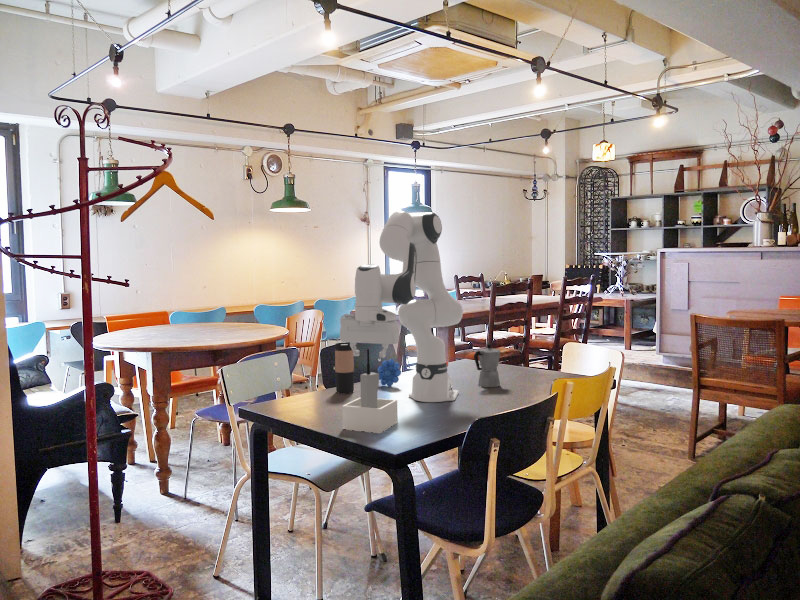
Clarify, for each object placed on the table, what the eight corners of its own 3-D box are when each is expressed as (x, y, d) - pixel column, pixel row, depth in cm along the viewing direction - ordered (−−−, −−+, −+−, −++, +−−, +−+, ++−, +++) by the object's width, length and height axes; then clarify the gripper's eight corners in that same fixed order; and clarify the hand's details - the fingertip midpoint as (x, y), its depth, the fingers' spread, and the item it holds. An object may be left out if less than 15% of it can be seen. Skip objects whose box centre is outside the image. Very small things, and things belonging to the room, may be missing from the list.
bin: (361, 419, 223) (360, 397, 223) (397, 423, 218) (397, 400, 217) (342, 429, 211) (342, 405, 210) (380, 433, 206) (380, 409, 205)
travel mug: (332, 393, 266) (331, 344, 265) (340, 389, 273) (339, 342, 272) (350, 394, 264) (349, 345, 262) (357, 390, 271) (356, 342, 270)
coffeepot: (491, 382, 285) (491, 341, 284) (507, 385, 278) (507, 343, 277) (466, 386, 276) (466, 344, 274) (482, 390, 268) (482, 347, 267)
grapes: (406, 385, 279) (405, 358, 278) (398, 388, 273) (397, 360, 273) (382, 383, 285) (382, 356, 284) (374, 386, 279) (374, 358, 278)
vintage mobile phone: (380, 423, 214) (378, 348, 213) (368, 426, 211) (367, 350, 209) (372, 421, 217) (371, 347, 215) (361, 424, 214) (359, 349, 212)
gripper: (335, 314, 213) (336, 356, 214) (393, 316, 205) (393, 359, 206) (344, 313, 219) (345, 353, 220) (400, 314, 211) (401, 356, 212)
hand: (369, 356), depth 213 cm, fingers open, 8 cm apart
